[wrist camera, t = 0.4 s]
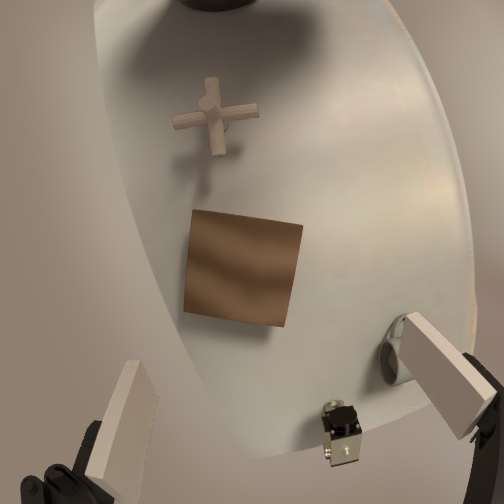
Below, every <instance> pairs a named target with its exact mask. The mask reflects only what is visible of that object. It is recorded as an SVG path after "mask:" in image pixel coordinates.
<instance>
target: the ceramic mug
mask: <svg viewBox="0 0 504 504" xmlns="http://www.w3.org/2000/svg"><path fill="white" fill-rule="evenodd" d="M406 315H408V314H403V315H400V316H399V317H397V319H396V320H395V321H394V323H393V324H392V328H391V333H390V339H386V340H384V341H383V342H382V344H381V346H380V350H379V359H378V361H379V369H380V373H381V376H382V378H383V380H384V382H385V383H386V384H387V385H388V386H396V385H399V384H402V383H405V382H408V381H411V380H413V379H415V378H414V377H413V376H412V374H411V373H410V372H409V370H408V369H407V368H406V366H405V365H404V364H403V362H402V361H401V360H400V359H399V357H398V352H399V348H400V343H401V338H402V337H396V331H397V327H398V325H399V323H400V322H401V321H402V319H405V316H406Z"/></svg>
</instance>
